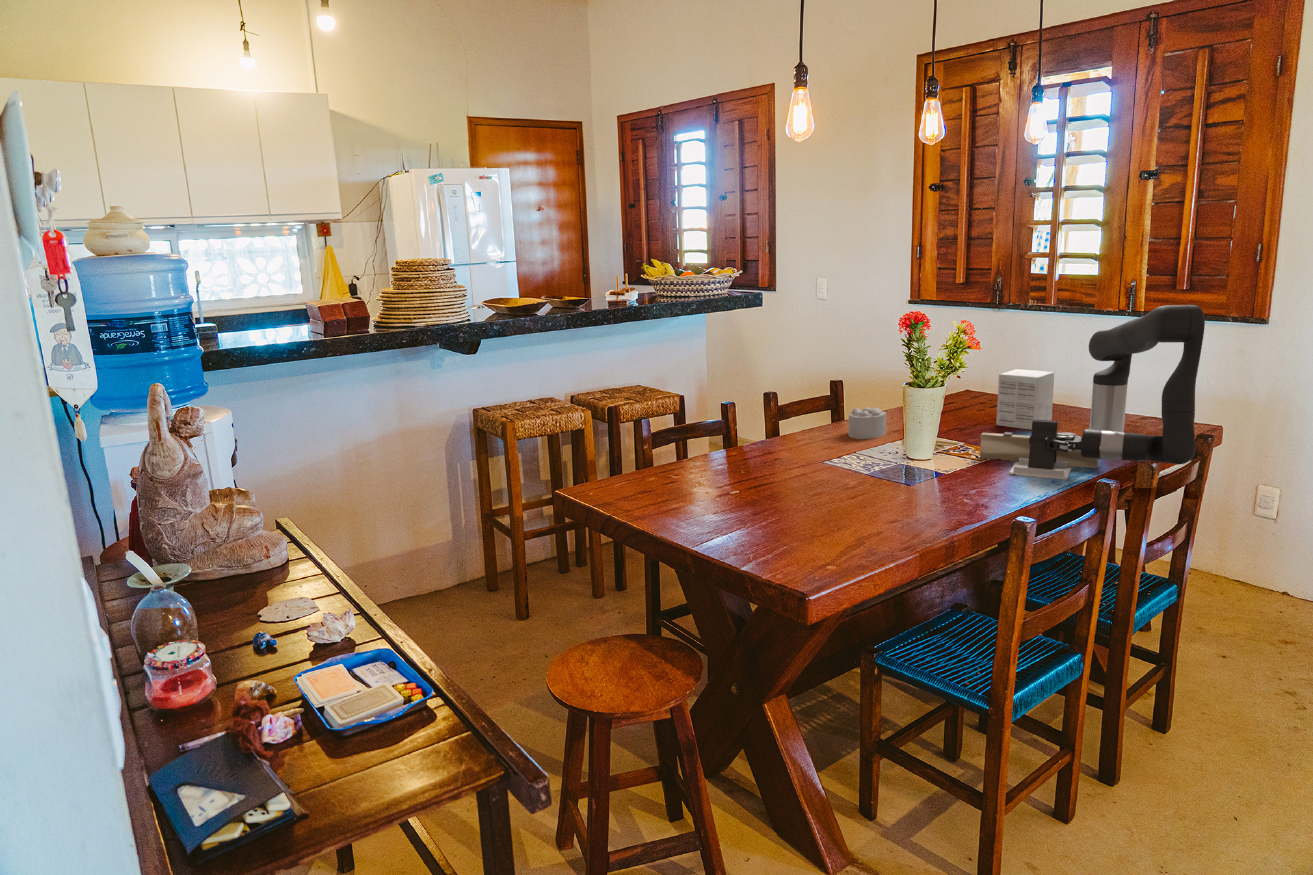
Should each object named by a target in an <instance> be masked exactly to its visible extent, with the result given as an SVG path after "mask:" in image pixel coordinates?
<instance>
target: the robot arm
mask: <svg viewBox="0 0 1313 875" xmlns="http://www.w3.org/2000/svg"><path fill="white" fill-rule="evenodd" d="M1205 322H1206V319H1205V313H1204V311H1203V308H1201V307H1200V306H1199V305H1196V304H1177V305H1176V304H1173V305H1172V304H1171V305H1161V306H1158V307H1155V308H1153V309H1152V310H1151V311H1149V312H1147V313H1146V315H1143V316H1139V317H1137V318H1134V319H1131V320H1128V321H1127V322H1125V323H1122V324H1118V326H1117V325H1116V326H1115V327H1112V328H1110V329H1103V330H1098V331H1095V333H1093V334H1092V336H1091V337H1090V339H1089V341H1088V342H1089V343H1088V351H1089V354H1090V357H1091V358H1092V359H1094V360H1095V361H1097V362H1098V361H1099V362H1112V364H1111V365H1110V366H1109V367H1106V368H1104V369H1103V370H1099V371H1097V372H1095V373H1094V374H1093V377H1092V378H1093V379H1092V391H1091V392H1092V394H1091V403H1090V420H1089V428H1084V429H1083V431H1082V435H1076V433H1073V432H1071V431H1068V432H1067V431H1065V432H1057V436H1056V437H1055V438H1048V437H1046V438H1045V439H1031V435H1029V436H1030V438H1029V444H1030V443H1031V440H1032V441H1034V440H1035V441H1036V443H1040V441H1042V442H1043V444H1044V445H1046V448H1047V449H1052V450H1057V451H1061V452H1068V451H1073V450H1081V456H1082V457H1083V458H1094V459H1098V460H1108V461H1115V460H1116V461H1117V460H1118V461H1120V460H1122V461H1132V462H1133V461H1134V462H1144V461H1143V460H1151V461H1150V462H1154V461H1156V462H1155V463H1162V464H1163V463H1165V464H1173V465H1179V466H1180V465H1184V464H1187V463H1188V462H1190V461H1192V459H1193V458H1194V457H1195V455H1196V435H1195V417H1196V383H1197V375H1198V370H1199V365H1200V360H1201V353H1202V347H1203V343H1204V342H1203V341H1204V335H1205V325H1206V324H1205ZM1159 343H1183V350H1182V355H1181V358H1180V361H1178V365H1177V366H1176V368H1175V369H1174V370H1173V372H1172V374H1171V375H1170V376H1169V377H1168V379H1167V381H1166V383H1165V385H1164V386H1163V389H1162V392H1161V421H1162V422H1161V423H1162V435H1148V434H1146V433H1145V434H1144V433H1137V432H1125V431H1124V430H1125V420H1126V419H1125V418H1126V407H1127V398H1128V396H1127V394H1128V385H1129V384H1128V382H1129V377H1130V374H1131V364H1132V358H1133V355H1134V354H1139V353H1144V352H1147V351H1150V350H1151V349H1153V348H1155V347H1156V346H1157V345H1159ZM1037 441H1038V442H1037ZM1052 442H1053V443H1054V447H1052V446H1051V444H1052Z"/></svg>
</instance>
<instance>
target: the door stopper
mask: <svg viewBox="0 0 1313 875" xmlns="http://www.w3.org/2000/svg"><path fill="white" fill-rule="evenodd" d="M1058 425H1059V423H1058V421H1057V420H1052V421H1047V420H1033V421H1032V430H1031V434H1030V436H1031V439H1045V438H1046V437H1048V438H1055V437H1056V436H1057V433H1058ZM1037 442H1038V441H1037ZM1051 446H1052V447H1054V443H1053V442H1052V444H1051ZM1056 455H1057V450H1052V449H1047V448H1046V445H1044V444H1043V442H1042V441H1040V443H1036V441H1035V440H1034V441H1032V440H1031V443H1030V453H1029V463H1028V467H1033V468H1044V469H1053V468H1054V465H1055V463H1056Z"/></svg>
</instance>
